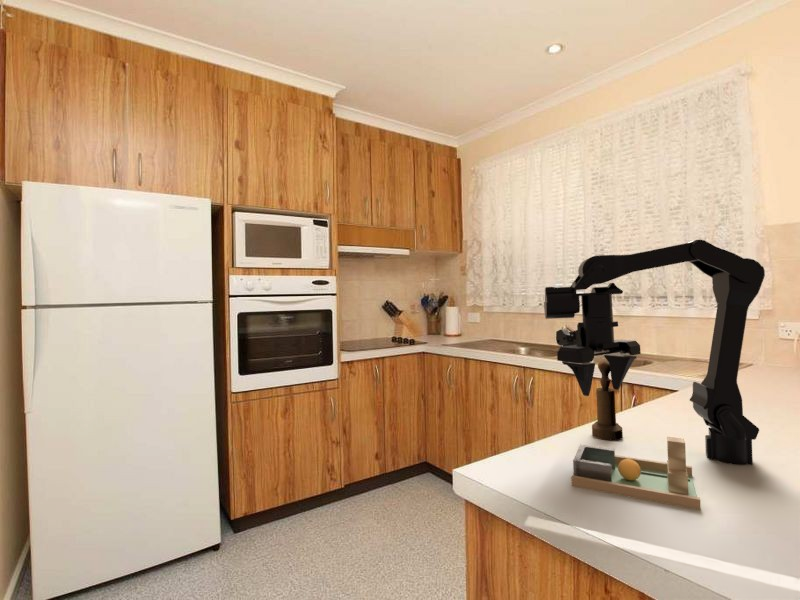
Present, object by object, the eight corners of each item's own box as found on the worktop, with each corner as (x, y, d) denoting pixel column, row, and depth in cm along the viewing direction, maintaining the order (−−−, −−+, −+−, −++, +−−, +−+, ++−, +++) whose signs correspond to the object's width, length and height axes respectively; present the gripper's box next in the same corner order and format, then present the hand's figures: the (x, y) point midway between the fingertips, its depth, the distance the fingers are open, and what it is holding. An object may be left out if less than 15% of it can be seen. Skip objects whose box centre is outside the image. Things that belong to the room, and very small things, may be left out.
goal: (615, 467, 78) (614, 449, 78) (611, 486, 70) (611, 466, 70) (580, 462, 81) (580, 444, 81) (573, 480, 73) (573, 460, 73)
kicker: (685, 480, 71) (683, 435, 71) (688, 495, 66) (686, 446, 66) (667, 477, 73) (666, 433, 73) (669, 491, 68) (667, 444, 68)
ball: (641, 477, 74) (640, 457, 74) (641, 485, 71) (640, 464, 71) (618, 473, 75) (618, 454, 75) (617, 481, 72) (617, 461, 72)
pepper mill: (586, 432, 102) (584, 358, 102) (611, 431, 102) (609, 357, 102) (602, 441, 95) (599, 362, 95) (629, 439, 96) (626, 361, 96)
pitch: (691, 480, 74) (691, 466, 74) (700, 516, 62) (700, 499, 62) (582, 462, 83) (582, 450, 83) (571, 491, 71) (571, 477, 71)
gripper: (594, 314, 98) (597, 380, 98) (535, 319, 89) (538, 392, 89) (640, 314, 88) (644, 388, 88) (578, 320, 79) (582, 402, 79)
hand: (601, 392), depth 86 cm, fingers open, 9 cm apart
